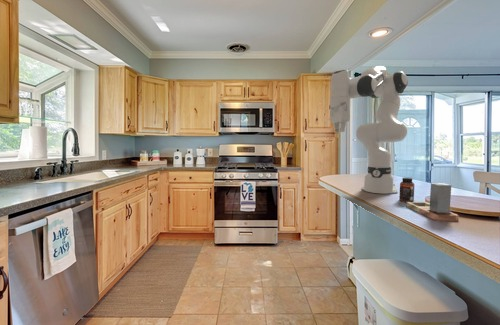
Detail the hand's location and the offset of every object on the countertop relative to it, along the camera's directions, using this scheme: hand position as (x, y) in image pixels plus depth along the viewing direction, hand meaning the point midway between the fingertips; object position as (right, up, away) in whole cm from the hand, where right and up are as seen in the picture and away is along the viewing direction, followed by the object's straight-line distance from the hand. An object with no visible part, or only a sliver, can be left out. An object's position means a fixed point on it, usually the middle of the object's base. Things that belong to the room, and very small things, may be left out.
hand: (339, 132), depth 125 cm
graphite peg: (+29, -36, -28) cm, 54 cm away
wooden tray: (+29, -36, -23) cm, 51 cm away
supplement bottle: (+31, -34, -4) cm, 46 cm away
